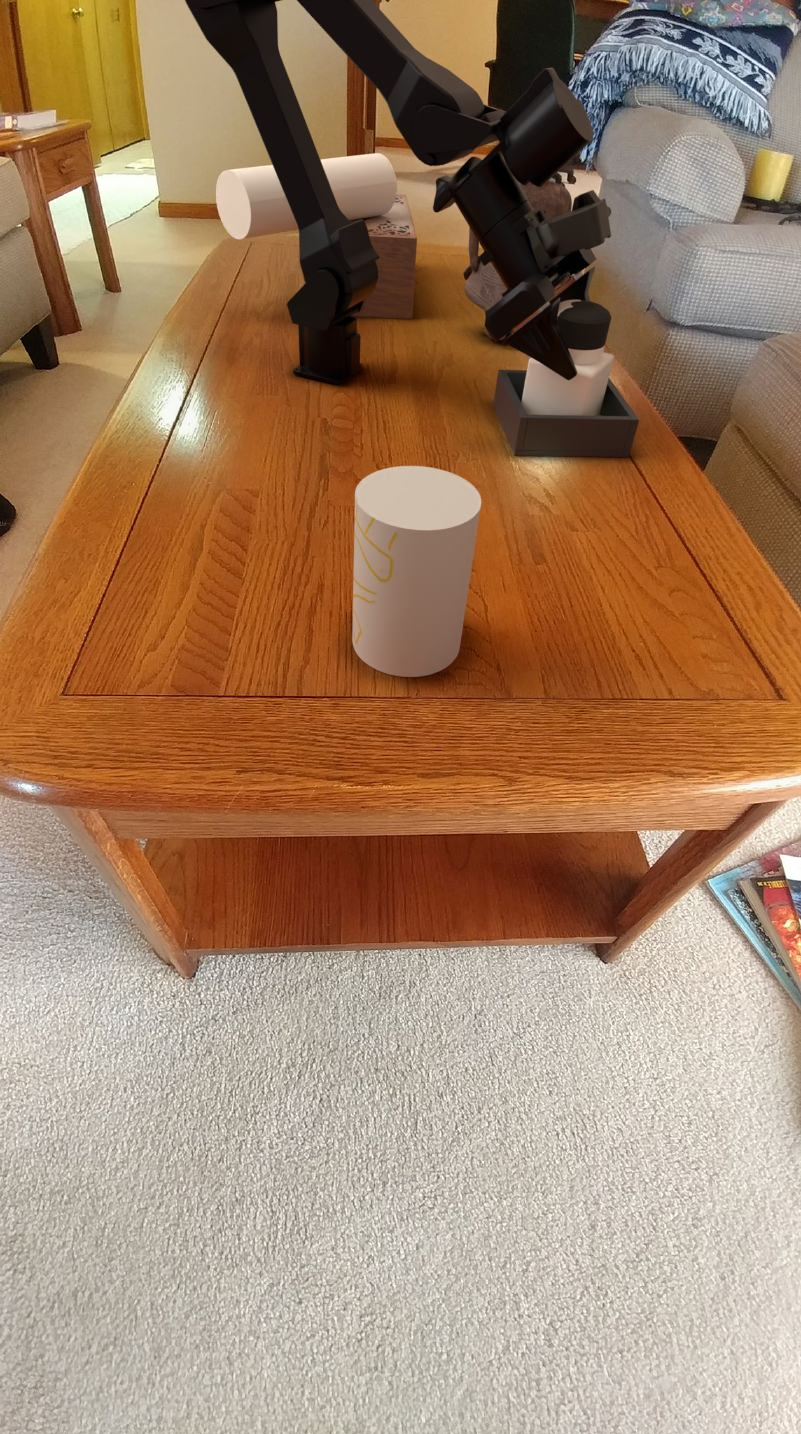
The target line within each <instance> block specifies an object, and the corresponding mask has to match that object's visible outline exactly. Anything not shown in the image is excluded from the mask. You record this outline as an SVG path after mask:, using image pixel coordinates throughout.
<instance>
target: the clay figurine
mask: <svg viewBox="0 0 801 1434" xmlns="http://www.w3.org/2000/svg"><path fill="white" fill-rule="evenodd" d="M517 182H518V181H517ZM518 184H519V185H520V187H521V189H522V191H523V192H524V194H525V196H526V198H527V199H528V200H527V201H529V203H530V205H531V206H532V208H533V210H535V209H537V208H538V207H540V208H541V209H542V208H544V209H545V210H546V212H547V214H548V216H549V217H550V219H552V218H554V217H557V216H560V215H562V214H564V213H566V212H568V211H569V212H570V211H572V206H573V200H572V199H573V198H572V195H571V193H570V191H569V190H568V189H567V188H566V187H565V186H564V185H562V184H560V183H558V182H554V181H550V180H548V181H547V182H546V183H545V184H544V185H543V186H542V187H537V186H535V185H533V184H532V183H531V182H529V183H528V184H527V185H522V184H521V183H519V182H518ZM468 227H469V226H468ZM479 250H480V243H479V242H478V240H477V238H476V237H475V235H474V233H473V232H472V230H471V228H470V227H469V228H468V253H469V255H468V256H469V264H468V265H467V266H466V268H465V269H464V270H463V273H462V275H463V278H464V280H465V284H464V292H465V296H466V298H468V299H469V301H470V302H471V303H472V304H474V305H475V306H477V307H478V308H480V309H481V310H483V311H484V315H485V317H486V311H487V310H489V309H490V308H491V307H492V306H493V305H495V304H496V303H497V302H498V301H500V300H501V299H502V298H503V297H502V294H503V293H504V292H505V291H506V290H507V288H506V287H505V285H504V283H503V282H502V280H501V278H500V277H499V275H498V273H497V272H496V270H495V268H494V267H493V265H492V263H491V262H490V263H488V264H487V265H485V266H484V265H483V263H482V262H481V260H480V258H479V256H480V255H479V252H480V251H479ZM549 301H550V300H549ZM482 333H483V334H484V335H485V336H486V337H488V339H490V340H492V341H494V340H493V339H492V337H491V336H490V334H489V332H488V331H487V329H486V327H484V328H483V329H482ZM507 334H508V335H509V336H510V335H511V334H513V332H512V330H511V331H510V332H508V333H507ZM507 334H506V335H507ZM506 335H505V336H503V337H502V338H501V339H500V340H499V341H502V340H505V339H506Z"/></svg>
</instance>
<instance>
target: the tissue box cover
mask: <svg viewBox="0 0 801 1434" xmlns="http://www.w3.org/2000/svg"><path fill="white" fill-rule="evenodd" d="M359 220H361V219H356V220H350V222H351V223H354V222H357V221H359ZM362 220H364V222H365V224H366V226H367V229H368V233H369V237H370V241H371V244H372V246H373V248H374V250H375V251H376V253H377V254H378V255H379V259H378V260H376V264H377V268H378V277H379V278H378V280H377V283H376V287H375V290H374V291H373V293H372V294H371V296H369V297H368V298H366V299H365V302H364V305H363V308H362V311H360V312H357V313H355V314H354V315H352V316H351V317H359V318H384V319H402V320H403V319H408V320H412V319H413V311H414V295H415V294H414V292H415V277H416V262H417V246H418V236H417V233H416V229H415V224H414V221H413V217H412V213H411V209H410V205H409V202H408V197H407V194H398V193H396V199H395V202H394V205H393V207H392V208H391V210H390V211H389V212H388V213H386V214H384V215H379V216H373V217H367V218H362Z"/></svg>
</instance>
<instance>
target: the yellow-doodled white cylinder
mask: <svg viewBox="0 0 801 1434" xmlns="http://www.w3.org/2000/svg"><path fill="white" fill-rule="evenodd" d="M481 509H482V497H481V494H480V492H479V491H478V489H477V488H476V487H475V486H474V485H473V484H472V483H471V482H469V481H468V480H466V478H464V477H461V476H460V475H458V474H456V473H453V472H451V471H447V470H443V469H440V468H435V467H431V466H423V465H400V466H399V465H398V466H392V467H391V466H390V467H387V468H382V469H379V470H377V471H374V472H372V473H370V474H368V475H366V476H364V477H363V478H362V479H361V480H360V481H359V482H358V484H357V485H356V487H355V491H354V522H353V523H354V526H353V527H354V529H353V531H354V532H353V581H352V582H353V583H352V584H353V585H352V586H353V587H352V635H351V636H352V637H351V640H352V646H353V650H354V651H355V653H356V655H357V657H359V658H360V660H361V661H363V663H365V664H366V665H367V666H368V667H370V668H373V669H374V670H376V671H378V672H381V673H384V674H386V675H390V676H395V677H401V678H402V677H403V678H418V677H419V678H420V677H425V676H430V675H434V674H436V673H438V672H440V671H443V670H444V669H446V668H447V667H449V666H450V665H452V663H453V662H454V661H455V660H456V659H457V657H458V655H459V653H460V650H461V649H460V648H461V642H462V635H463V628H464V622H465V616H466V615H465V614H466V609H467V601H468V595H469V588H470V581H471V577H472V576H471V575H472V569H473V563H474V555H475V549H476V541H477V535H478V528H479V522H480V515H481Z"/></svg>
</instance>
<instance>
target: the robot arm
mask: <svg viewBox="0 0 801 1434" xmlns="http://www.w3.org/2000/svg"><path fill="white" fill-rule="evenodd" d="M282 1H283V0H184V2H185V3H186V6H187V8H188V9H189V12H190V13H191V15H192V17H193V19H194V20H195V22H196V24H197V26H198V27H199V29H200V31H201V33H202V35H203V36H204V38H205V40H206V41H207V42H208V44H209V45H210V46H211V47H212V48H213V49H214V50H215V52H217V54H218V55H219V56H220V57H221V58H222V60H223V61H224V62H225V63H226V64H227V65H228V66H229V68H231V70H232V72H233V73H234V75H235V77H236V80H237V82H238V85H239V87H240V89H241V92H242V94H243V97H244V100H245V102H246V104H247V106H248V108H249V111H250V113H251V116H252V119H253V121H254V123H255V126H256V128H257V131H258V133H259V136H260V138H261V141H262V143H263V145H264V148H265V151H266V153H267V155H268V158H269V160H270V163H271V165H273V167H274V170H275V172H276V175H277V177H278V180H279V182H280V184H281V187H282V189H283V192H284V194H285V197H286V199H287V201H288V204H289V206H290V209H291V211H292V214H293V216H294V219H295V221H296V223H297V226H298V230H297V231H298V248H299V249H298V253H299V257H298V258H299V266H300V269H301V273H302V277H303V280H304V284H303V285H302V286H300V287H301V288H299V289H298V291H296V292H295V294H294V295H293V296H292V297H291V298H290V299H289V300H288V302H287V303H286V307H287V310H288V314H289V317H290V320H291V324H294V325H297V327H298V354H299V356H298V357H299V364H298V365H296V367H294V368H292V373H293V374H294V375H295V376H300V377H304V378H309V379H312V380H316V381H320V382H321V381H322V382H326V383H329V384H334V385H342V384H343V383H345V382H346V381H347V380H349V379H350V378H352V377H353V376H354V375H356V374H357V373H359V371H361V370H362V369H363V363H361V338H362V337H361V334H360V333H359V332H358V318H357V317H355V316H352V315H354V314H355V313H357V312H360V311H362V308H363V305H364V302H365V299H366V298H368V297H369V296H371V294H372V293H373V291H374V290H375V287H376V283H377V280H378V278H379V277H378V268H377V264H376V260H378V259H379V255H378V254H377V253H376V251H375V250H374V248H373V246H372V244H371V241H370V237H369V233H368V229H367V226H366V224H365V222H364V220H362V219H361V220H359V221H357V222H354V223H351V222H350V221H349V220H348V218H347V217H346V216H345V215H344V214H343V213H342V212H341V210H340V209H339V207H338V205H337V202H336V199H335V197H334V194H333V192H332V189H331V186H330V184H329V181H328V179H327V176H326V173H325V171H324V168H323V165H322V163H321V157H320V155H319V153H318V150H317V148H316V144H315V141H314V139H313V137H312V134H311V132H310V129H309V126H308V124H307V122H306V119H305V116H304V113H303V111H302V108H301V106H300V103H299V100H298V97H297V95H296V91H295V90H294V87H293V84H292V82H291V79H290V76H289V74H288V72H287V69H286V66H285V63H284V61H283V58H282V55H281V52H280V48H279V24H278V22H279V21H278V8H277V4H276V3H277V2H282ZM296 1H297V3H298V4H299V5H300V6H301V7H302V8H303V9H304V10H305V11H306V13H307V14H309V15H310V17H311V18H312V19H313V20H314V21H315V22H316V24H317V25H318V26H319V27H320V28H321V29H322V30H323V31H324V32H325V33H326V34H327V35H328V36H329V38H330V39H331V40H332V41H333V42H334V43H335V45H337V47H338V48H339V49H340V50H341V51H342V52H343V53H344V54H345V55H346V56H347V57H348V58H349V60H350V61H351V62H352V63H353V64H354V65H355V66H356V67H357V69H359V70H360V71H361V72H362V74H363V76H364V77H366V78H367V80H368V81H370V82H371V84H372V85H373V86H374V87H375V88H376V90H377V91H378V92H379V93H380V95H381V97H382V98H383V99H384V101H385V103H386V105H387V107H388V109H389V112H390V115H391V118H392V120H393V123H394V126H395V127H396V129H397V130H398V132H399V133H400V135H401V137H402V138H403V139H404V141H405V142H406V144H407V146H408V147H409V148H410V150H411V151H412V153H413V155H414V156H415V157H416V159H418V160H419V161H420V162H421V163H422V164H424V165H426V166H429V167H439V166H445V165H447V164H450V163H453V162H456V161H458V160H461V159H464V158H466V157H468V156H469V155H472V153H473V152H474V151H475V150H476V149H478V148H481V147H484V146H486V145H489V144H493V143H495V142H497V141H498V142H499V143H498V144H497V145H496V146H495V147H494V148H493V149H492V150H491V151H490V152H489V153H487V155H486V156H485V157H484V158H481V157H478V156H474V155H473V156H470V157H469V158H468V160H466V161H465V162H464V164H462V165H461V166H460V168H458V170H457V171H455V172H454V173H453V175H451V176H449V175H442V176H440V177H437V178H436V179H435V195H434V198H433V205H432V210H433V212H434V213H436V214H437V213H440V212H443V211H445V210H446V209H449V208H451V207H452V206H453V205H454V204H455V205H456V207H457V208H458V210H459V212H460V213H461V215H462V217H463V219H464V220H465V222H466V223H467V225H468V227H470V228H471V230H472V232H473V233H474V235H475V237H476V238H477V240H478V242H479V246H480V247H481V249H482V250H483V252H482V253H480V255H478V256H479V258H480V260H481V262H482V263H483V265H484V266H485V265H487V264H488V263H490V262H491V263H492V265H493V267H494V268H495V270H496V272H497V273H498V275H499V277H500V278H501V280H502V282H503V283H504V285H505V287H506V288H507V290H506V291H505V292H504V293H503V294H502V297H503V298H502V299H501V300H500V301H498V302H497V303H496V304H495V305H493V306H492V307H491V308H490V309H489V310H487V311H486V316H485V319H484V328H486V329H487V331H488V332H489V334H490V336H491V337H492V339H493V340H492V339H491V340H492V341H493V343H497V342H498V341H501V340H500V339H501V338H502V337H503V336H505V335H508V334H509V333H508V332H510V331H511V330H512V332H513V334H511V335H510V334H509V336H508V337H506V336H505V337H506V338H504V339H503V341H502V344H503V345H504V346H505V347H508V346H510V347H512V348H513V349H514V350H517V351H519V352H520V353H523V354H524V355H526V356H528V357H530V358H533V359H535V360H536V361H538V362H540V363H541V364H543V365H544V366H546V367H547V368H549V369H551V370H552V371H554V372H555V373H557V374H559V375H560V376H562V377H563V378H565V379H566V380H571V379H572V378H574V377H575V376H576V375H577V370H576V367H575V364H574V362H573V359H572V357H571V354H570V352H569V350H568V347H567V345H566V343H565V340H564V338H563V336H562V333H561V331H560V329H559V326H558V324H557V316H558V310H559V305H560V302H563V301H567V300H586V301H591V299H590V298H591V297H590V292H589V291H590V287H591V283H592V279H593V275H594V274H595V271H596V266H595V265H594V266H593V267H591V268H589V270H587V271H586V272H585V273H583V270H585V269H587V268H588V267H589V266H591V265H592V264H593V263H595V261H596V260H597V257H596V255H595V253H594V251H593V248H596V247H599V246H600V245H603V244H604V243H605V241H606V239H610V238H611V237H612V231H611V226H610V225H611V224H610V216H611V215H612V209H611V207H610V206H608V205H607V200H606V198H602V199H600V197H599V196H598V194H597V193H596V191H595V190H594V189H591V190H589V191H586V192H583V193H580V194H578V195H577V196H575V197H574V199H573V201H572V209H571V211H570V212H569V211H568V212H566V213H564V214H562V215H560V216H557V217H554V218H552V219H550V217H549V216H548V214H547V212H546V210H545V209H544V208H542V209H541V208H540V207H538V208H537V209H535V210H533V208H532V206H531V205H530V203H529V201H527V200H528V199H527V198H526V196H525V194H524V192H523V191H522V189H521V187H520V185H519V184H518V182H519V183H521V184H522V185H527V184H528V183H529V182H531V183H532V184H533V185H535V186H537V187H542V186H543V185H544V184H545V183H546V182H547V181H550V180H551V179H552V178H553V177H554V176H555V175H556V174H557V173H559V171H561V170H562V169H563V168H564V167H565V166H566V165H567V164H568V163H569V162H571V160H573V159H574V158H575V157H576V156H577V155H578V154H579V153H580V152H582V150H583V149H585V148H586V147H587V146H588V145H590V143H591V142H592V141H593V140H594V130H593V126H592V122H591V120H590V117H589V115H588V112H587V111H586V108H585V106H584V104H583V102H582V101H581V99H580V98H577V97H576V96H575V94H574V93H573V91H572V90H571V89H570V87H568V85H566V83H565V82H563V81H562V80H561V79H560V78H559V75H558V73H557V72H556V70H555V68H554V67H547V68H543V69H542V70H541V71H540V73H539V74H538V75H537V76H536V77H535V78H534V79H533V80H532V82H531V84H530V85H529V87H528V88H527V90H526V91H525V92H524V93H523V94H522V95H521V96H520V97H519V98H517V100H516V101H515V102H514V103H513V104H512V105H511V107H509V108H508V109H507V110H506V111H505V110H503V109H499V108H496V107H493V106H491V105H489V104H488V105H487V104H484V101H483V100H482V98H481V97H480V95H479V92H477V91H476V90H475V89H474V88H473V87H472V86H471V85H469V84H468V83H467V82H465V81H464V80H463V79H461V78H460V77H459V76H458V75H456V74H455V73H454V72H452V71H451V70H450V69H448V68H447V67H445V66H443V65H441V64H439V63H437V62H436V61H434V60H432V59H430V58H429V57H427V56H426V55H424V54H423V53H422V52H420V51H418V50H417V48H415V47H414V46H413V44H411V42H409V40H408V39H407V38H406V37H405V36H404V34H402V33H401V31H400V30H399V28H397V27H396V26H395V25H394V23H393V22H392V21H391V20H390V19H389V18H388V17H387V15H386V14H385V13H384V12H383V11H382V10H381V9H380V8H379V6H378V5H377V4H376V3H375V2H374V1H373V0H296ZM517 181H518V182H517ZM549 300H550V301H549Z"/></svg>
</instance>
